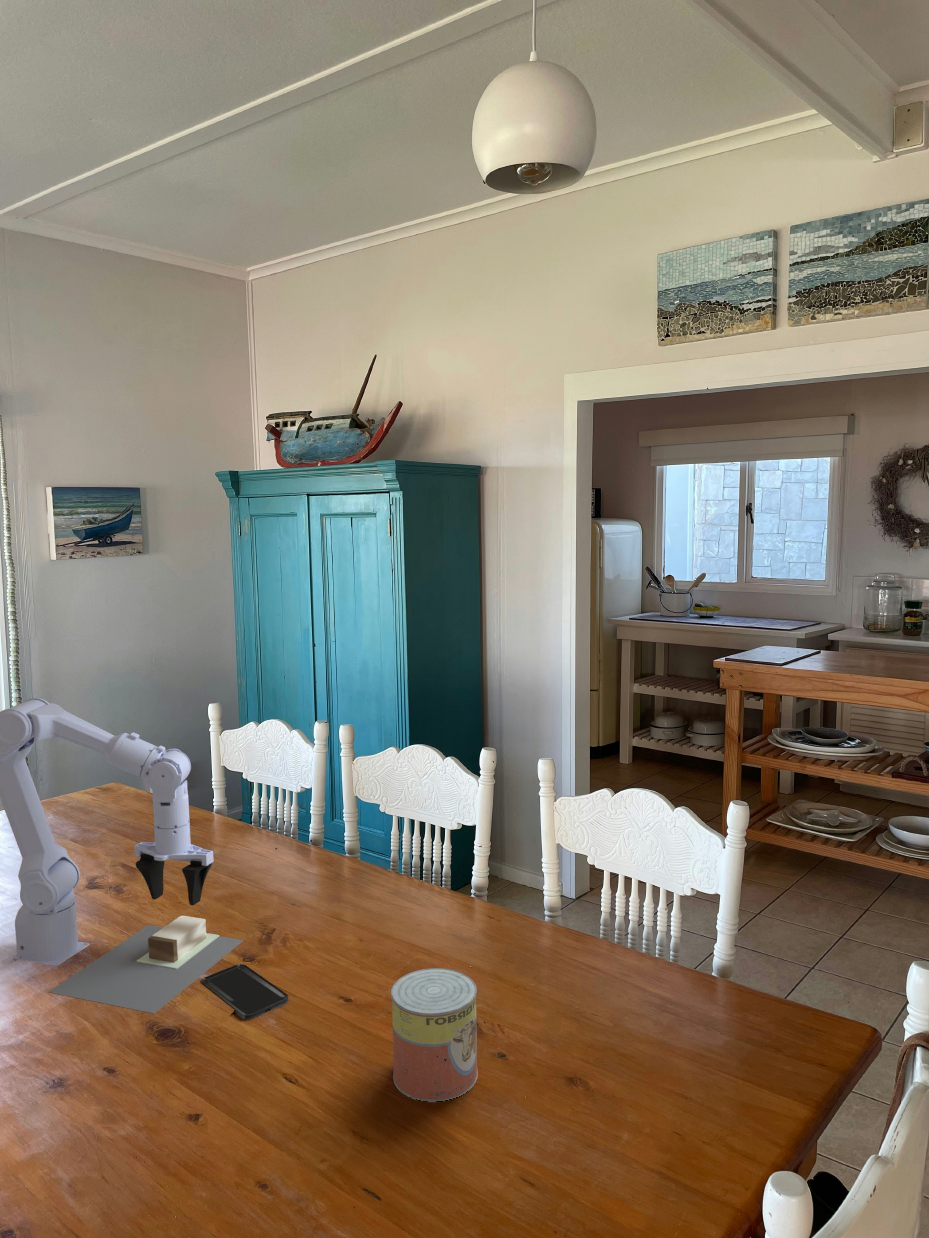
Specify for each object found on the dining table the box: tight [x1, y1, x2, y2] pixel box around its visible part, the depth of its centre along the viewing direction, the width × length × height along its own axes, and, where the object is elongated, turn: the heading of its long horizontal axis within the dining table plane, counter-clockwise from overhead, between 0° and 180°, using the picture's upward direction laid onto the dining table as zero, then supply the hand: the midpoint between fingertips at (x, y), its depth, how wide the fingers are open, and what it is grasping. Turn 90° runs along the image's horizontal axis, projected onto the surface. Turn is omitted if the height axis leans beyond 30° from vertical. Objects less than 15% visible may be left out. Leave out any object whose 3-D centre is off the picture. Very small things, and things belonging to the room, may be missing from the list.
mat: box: [48, 924, 244, 1014], centre depth 147 cm, size 20×24×1 cm
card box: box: [148, 915, 207, 963], centre depth 152 cm, size 9×5×4 cm, turn 161°
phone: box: [200, 963, 289, 1021], centre depth 139 cm, size 8×1×15 cm
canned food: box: [390, 967, 479, 1103], centre depth 118 cm, size 11×11×12 cm
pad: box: [136, 932, 220, 969], centre depth 153 cm, size 12×8×1 cm, turn 161°
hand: (176, 899), depth 152 cm, fingers open, 7 cm apart
